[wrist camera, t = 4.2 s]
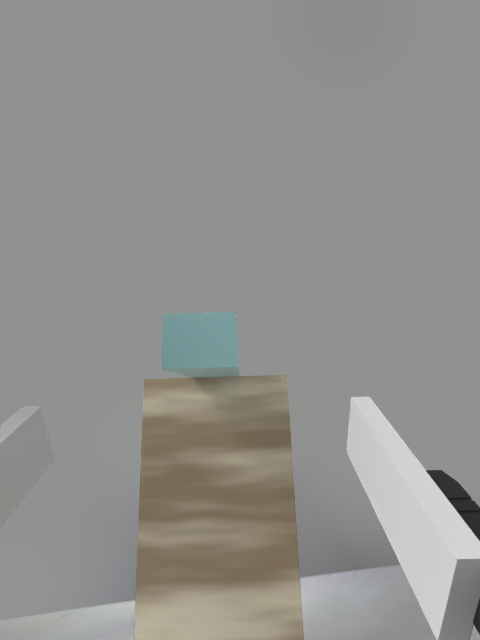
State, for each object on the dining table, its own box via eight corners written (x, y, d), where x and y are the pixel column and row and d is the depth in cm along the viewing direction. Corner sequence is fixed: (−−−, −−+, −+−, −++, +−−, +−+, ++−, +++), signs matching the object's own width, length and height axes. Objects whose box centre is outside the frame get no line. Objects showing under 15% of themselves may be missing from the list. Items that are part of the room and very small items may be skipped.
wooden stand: (318, 864, 19) (286, 374, 26) (124, 871, 19) (144, 379, 26) (289, 686, 31) (273, 380, 38) (169, 690, 31) (174, 383, 38)
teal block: (237, 366, 16) (236, 311, 17) (161, 369, 16) (163, 314, 17) (240, 382, 42) (239, 360, 42) (210, 383, 42) (210, 360, 42)
